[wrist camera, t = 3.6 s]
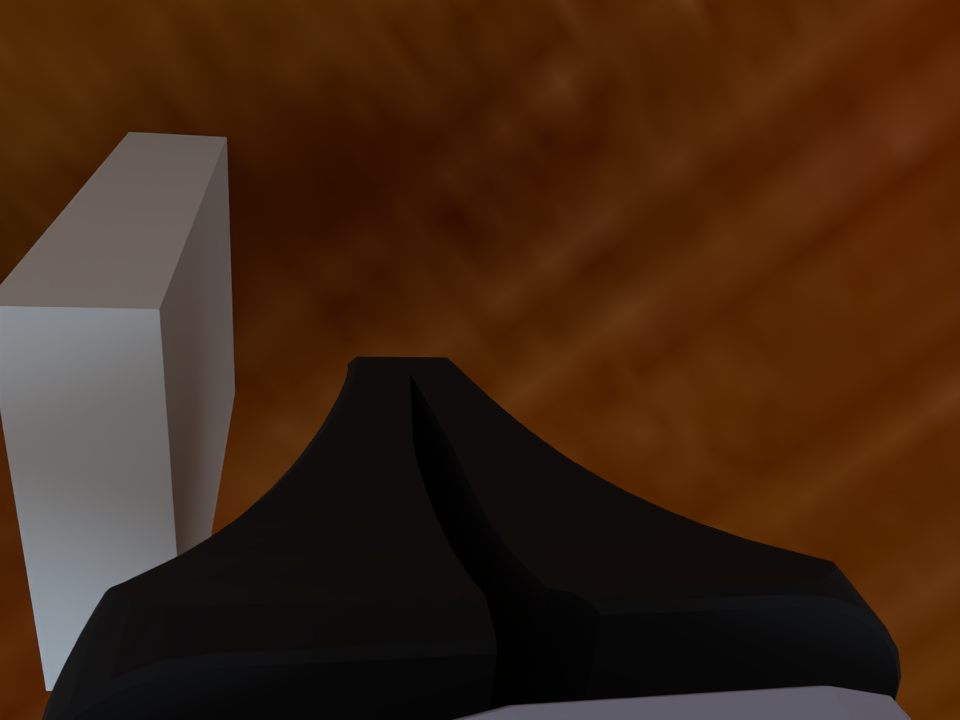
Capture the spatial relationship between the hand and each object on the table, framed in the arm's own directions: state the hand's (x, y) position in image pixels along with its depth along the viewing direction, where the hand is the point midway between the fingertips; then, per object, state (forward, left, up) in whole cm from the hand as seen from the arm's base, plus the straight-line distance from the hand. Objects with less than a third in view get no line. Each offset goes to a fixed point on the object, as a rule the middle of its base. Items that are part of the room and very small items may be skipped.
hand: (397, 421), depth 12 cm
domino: (-3, 0, -5) cm, 6 cm away
